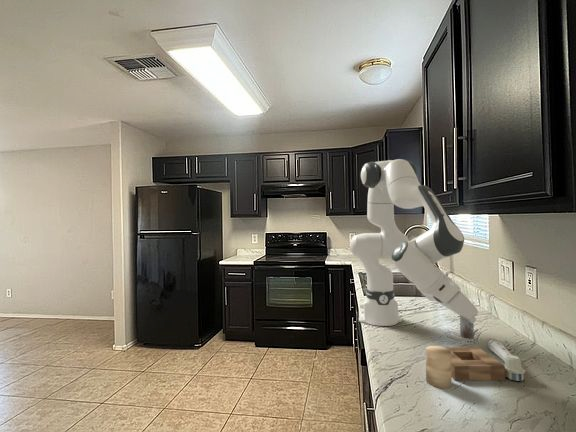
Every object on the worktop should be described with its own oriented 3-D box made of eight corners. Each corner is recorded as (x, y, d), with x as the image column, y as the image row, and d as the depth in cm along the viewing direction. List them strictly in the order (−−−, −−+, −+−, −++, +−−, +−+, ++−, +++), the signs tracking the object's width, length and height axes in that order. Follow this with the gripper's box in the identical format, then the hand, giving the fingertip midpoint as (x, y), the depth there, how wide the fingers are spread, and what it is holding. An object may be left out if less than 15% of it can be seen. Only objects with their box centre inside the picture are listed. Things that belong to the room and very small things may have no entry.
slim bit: (458, 334, 104) (457, 302, 104) (469, 334, 104) (469, 301, 104) (464, 338, 101) (463, 305, 101) (476, 338, 101) (475, 304, 101)
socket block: (434, 359, 110) (434, 347, 110) (477, 359, 110) (477, 346, 110) (454, 380, 96) (454, 366, 96) (505, 380, 96) (504, 365, 96)
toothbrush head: (501, 338, 117) (527, 357, 94) (502, 358, 117) (528, 382, 93) (484, 337, 119) (505, 354, 96) (485, 357, 118) (506, 379, 95)
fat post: (422, 376, 98) (422, 345, 98) (445, 376, 98) (444, 345, 98) (431, 388, 92) (431, 355, 92) (455, 388, 91) (455, 354, 91)
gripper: (416, 287, 113) (446, 316, 113) (443, 302, 92) (480, 337, 92) (429, 273, 113) (459, 302, 113) (460, 285, 92) (496, 321, 92)
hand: (469, 318), depth 102 cm, fingers closed on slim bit, 4 cm apart
